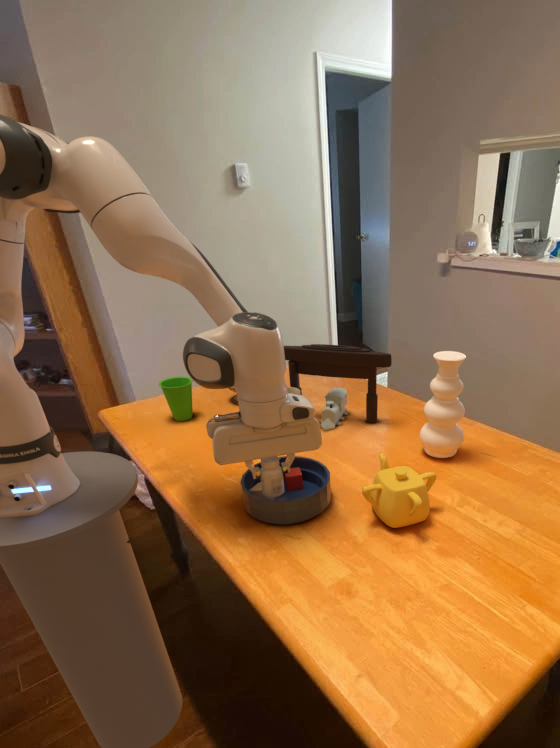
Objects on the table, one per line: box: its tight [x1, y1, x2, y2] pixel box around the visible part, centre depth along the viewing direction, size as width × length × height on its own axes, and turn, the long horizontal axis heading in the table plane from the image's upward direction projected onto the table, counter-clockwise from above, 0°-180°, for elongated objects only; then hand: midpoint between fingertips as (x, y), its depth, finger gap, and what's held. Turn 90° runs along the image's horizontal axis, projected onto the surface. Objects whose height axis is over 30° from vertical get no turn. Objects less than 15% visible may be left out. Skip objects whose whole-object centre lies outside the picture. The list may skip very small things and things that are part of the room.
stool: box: [283, 343, 393, 432], centre depth 129 cm, size 16×21×33 cm
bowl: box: [239, 455, 332, 525], centre depth 96 cm, size 18×18×6 cm
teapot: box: [361, 451, 437, 529], centre depth 91 cm, size 14×13×10 cm
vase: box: [419, 350, 467, 459], centre depth 110 cm, size 11×11×25 cm
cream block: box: [249, 482, 276, 500], centre depth 95 cm, size 4×4×4 cm
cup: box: [158, 376, 194, 422], centre depth 133 cm, size 9×9×11 cm
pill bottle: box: [260, 456, 284, 498], centre depth 90 cm, size 4×4×8 cm
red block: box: [284, 467, 303, 491], centre depth 101 cm, size 4×4×4 cm
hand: (271, 474), depth 90 cm, fingers closed on pill bottle, 4 cm apart
